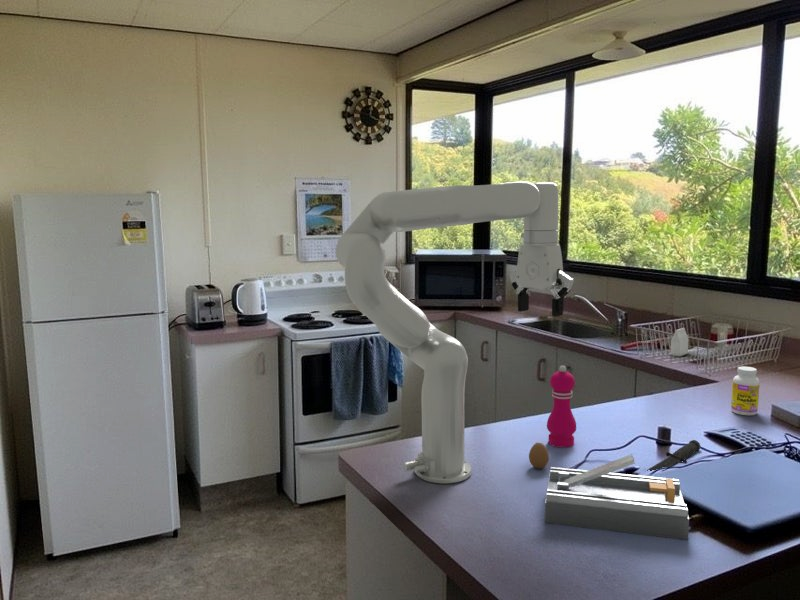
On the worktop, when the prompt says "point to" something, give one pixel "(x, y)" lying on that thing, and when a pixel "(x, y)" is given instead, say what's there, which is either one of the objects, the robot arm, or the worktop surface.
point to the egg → (538, 456)
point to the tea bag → (679, 343)
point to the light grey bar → (599, 471)
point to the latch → (665, 489)
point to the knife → (678, 455)
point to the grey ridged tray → (616, 504)
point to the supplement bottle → (745, 392)
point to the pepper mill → (561, 410)
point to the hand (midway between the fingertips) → (539, 313)
